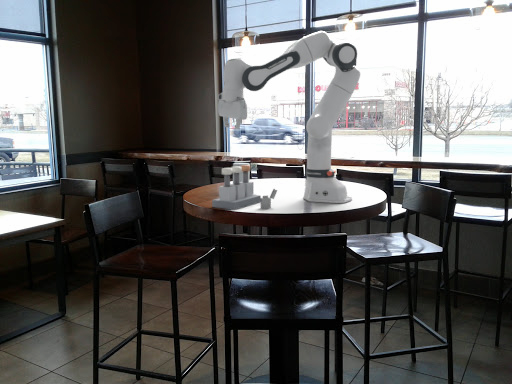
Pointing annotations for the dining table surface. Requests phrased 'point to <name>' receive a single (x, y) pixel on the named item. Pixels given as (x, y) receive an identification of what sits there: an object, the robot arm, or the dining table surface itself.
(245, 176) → the knob
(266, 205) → the lighter
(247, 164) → the skincare box
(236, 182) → the knob mid
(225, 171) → the knob
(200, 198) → the dining table surface
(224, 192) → the mount plate
